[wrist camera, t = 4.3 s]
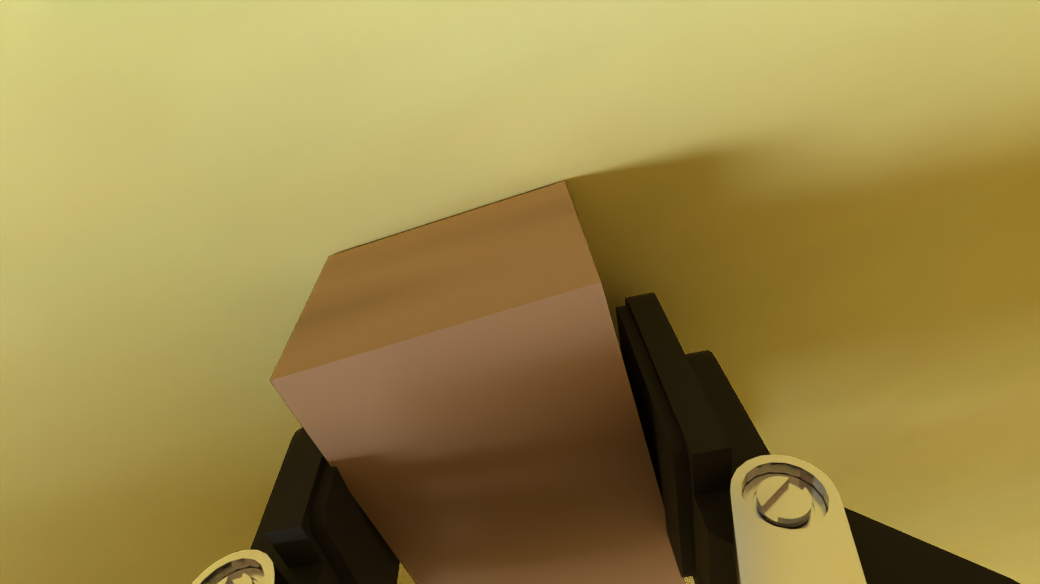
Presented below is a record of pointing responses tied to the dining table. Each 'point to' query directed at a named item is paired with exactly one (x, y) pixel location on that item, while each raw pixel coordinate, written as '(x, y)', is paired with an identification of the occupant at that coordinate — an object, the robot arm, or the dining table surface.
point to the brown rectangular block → (482, 401)
